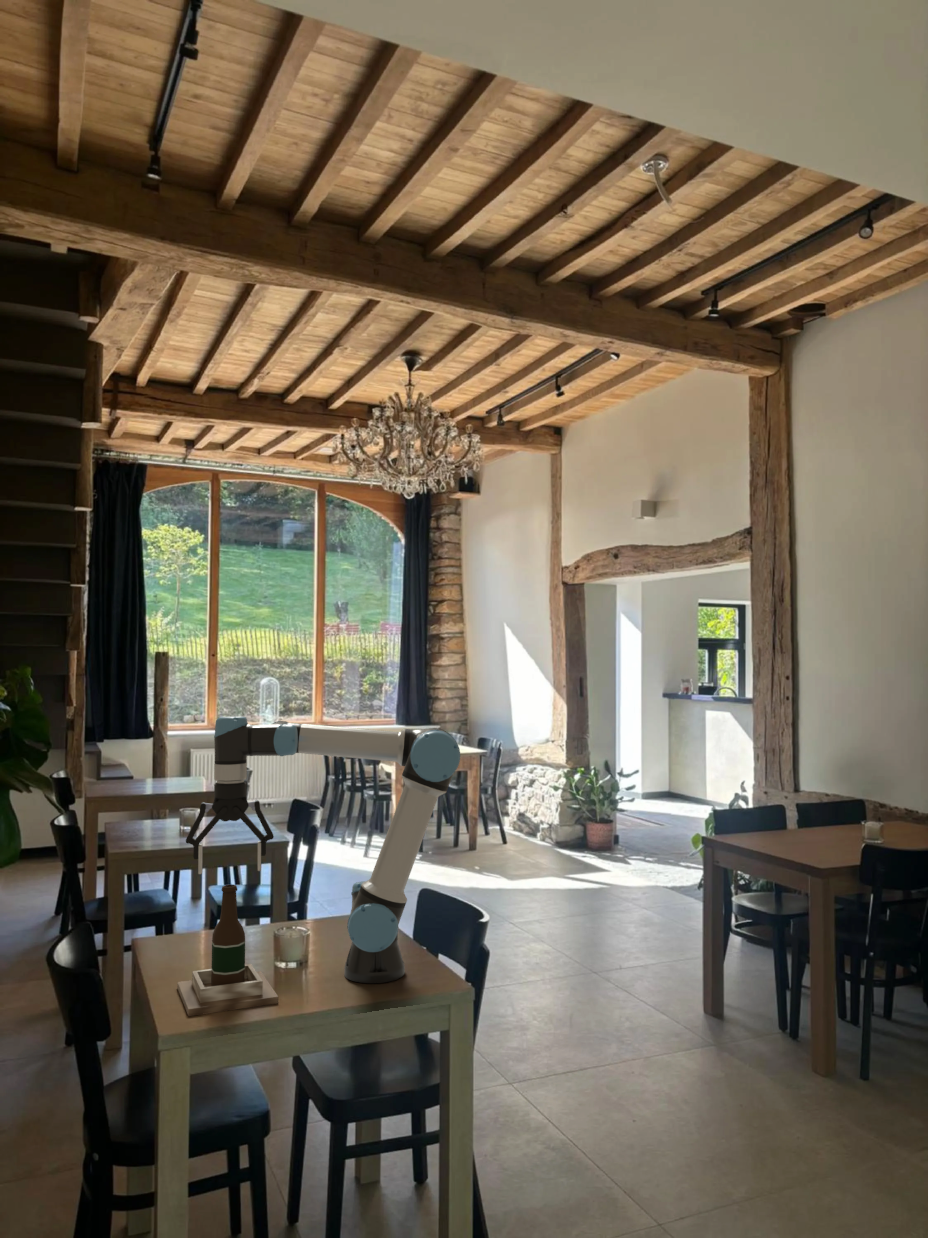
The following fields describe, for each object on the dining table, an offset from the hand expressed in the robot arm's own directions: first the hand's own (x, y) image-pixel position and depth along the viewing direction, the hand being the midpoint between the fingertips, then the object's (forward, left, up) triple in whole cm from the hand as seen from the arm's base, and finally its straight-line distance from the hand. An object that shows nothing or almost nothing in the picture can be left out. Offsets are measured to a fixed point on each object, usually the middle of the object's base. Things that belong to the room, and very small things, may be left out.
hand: (229, 871), depth 218 cm
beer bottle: (0, 0, -28) cm, 28 cm away
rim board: (0, 0, -29) cm, 29 cm away
